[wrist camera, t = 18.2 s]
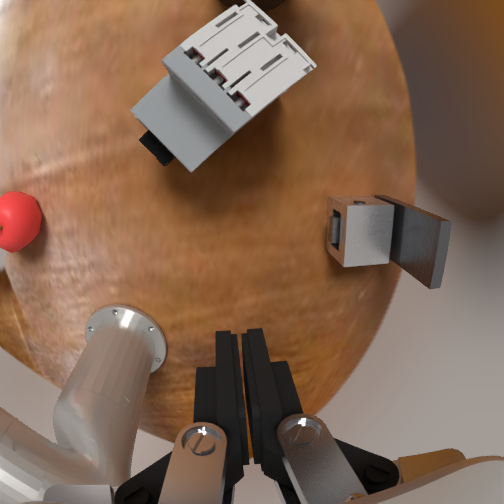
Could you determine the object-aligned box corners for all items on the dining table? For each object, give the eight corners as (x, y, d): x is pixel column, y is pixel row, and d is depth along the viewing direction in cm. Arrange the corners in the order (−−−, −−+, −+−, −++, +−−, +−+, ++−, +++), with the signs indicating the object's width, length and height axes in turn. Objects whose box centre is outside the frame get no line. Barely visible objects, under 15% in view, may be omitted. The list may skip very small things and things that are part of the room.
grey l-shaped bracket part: (380, 245, 40) (440, 287, 27) (320, 248, 39) (366, 298, 26) (384, 195, 38) (451, 221, 24) (322, 195, 37) (375, 222, 24)
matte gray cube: (366, 246, 40) (388, 263, 34) (325, 248, 39) (343, 267, 33) (369, 194, 37) (394, 204, 31) (327, 194, 37) (347, 204, 31)
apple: (5, 190, 31) (-29, 201, 24) (45, 183, 32) (11, 193, 25) (13, 243, 34) (-18, 262, 27) (53, 241, 35) (23, 262, 27)
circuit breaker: (146, 131, 32) (99, 122, 18) (237, 52, 30) (249, -5, 16) (189, 175, 34) (168, 194, 20) (280, 95, 32) (319, 64, 18)
